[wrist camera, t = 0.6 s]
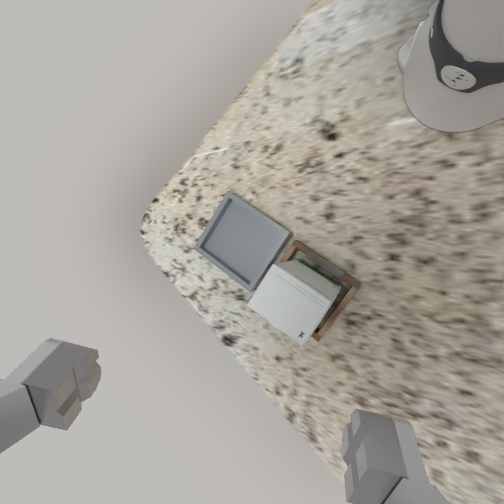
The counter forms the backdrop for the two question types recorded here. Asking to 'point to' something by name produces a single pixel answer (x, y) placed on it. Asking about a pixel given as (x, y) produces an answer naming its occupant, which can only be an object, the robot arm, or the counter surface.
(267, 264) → the slate tray
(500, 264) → the counter surface
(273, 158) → the counter surface
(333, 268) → the walnut caddy
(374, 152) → the counter surface
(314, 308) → the skincare box
